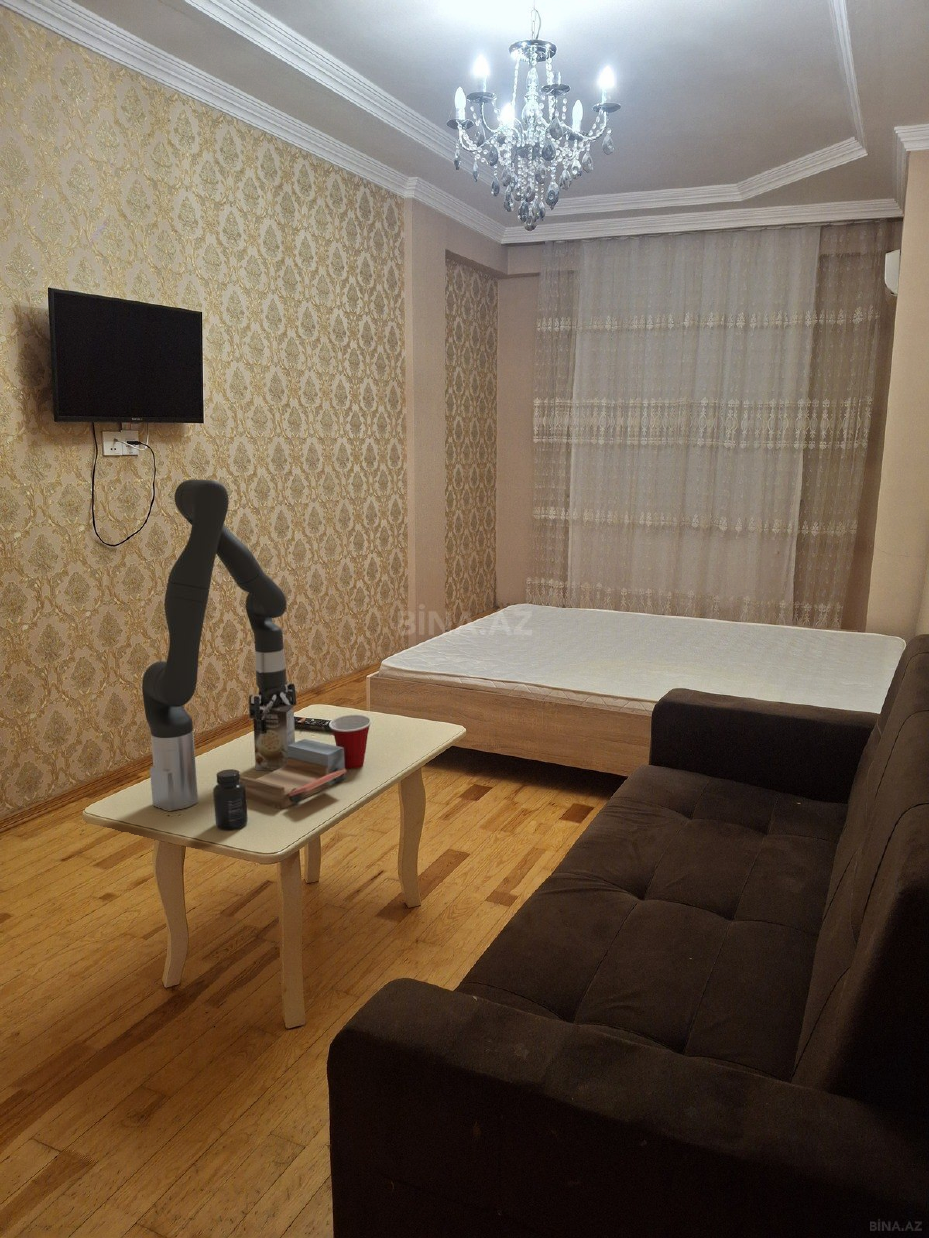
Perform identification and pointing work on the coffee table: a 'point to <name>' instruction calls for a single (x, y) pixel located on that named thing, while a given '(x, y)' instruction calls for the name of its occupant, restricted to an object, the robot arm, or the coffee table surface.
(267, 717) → the coffee box
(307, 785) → the panel
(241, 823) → the supplement bottle
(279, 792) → the wooden tray with block
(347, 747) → the plastic cup
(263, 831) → the coffee table surface
